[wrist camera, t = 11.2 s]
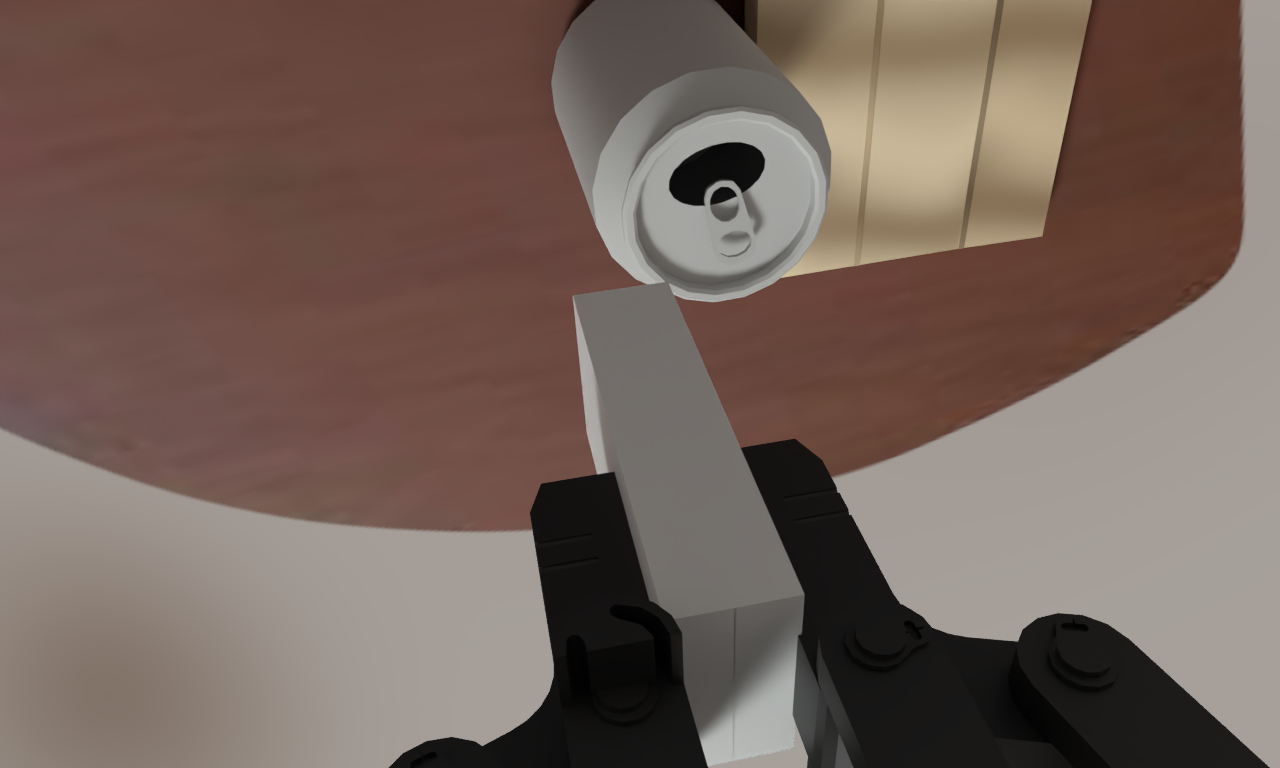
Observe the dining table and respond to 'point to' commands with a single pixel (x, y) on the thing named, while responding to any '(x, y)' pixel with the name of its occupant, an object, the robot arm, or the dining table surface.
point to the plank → (884, 115)
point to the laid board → (1022, 118)
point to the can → (690, 146)
